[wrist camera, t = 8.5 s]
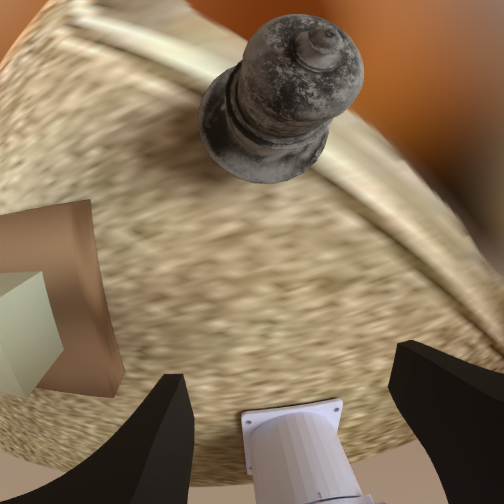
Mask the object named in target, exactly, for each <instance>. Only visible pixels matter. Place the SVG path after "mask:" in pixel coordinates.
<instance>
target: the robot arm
mask: <svg viewBox="0 0 504 504" xmlns="http://www.w3.org/2000/svg"><path fill="white" fill-rule="evenodd" d="M388 389H389V391H390V393H391V396H392V398H393V400H394V402H395V404H396V406H397V408H398V410H399V411H400V413H401V414H402V416H403V417H404V419H405V420H406V422H407V423H408V425H409V426H410V428H411V429H412V431H413V432H414V434H415V435H416V437H417V438H418V440H419V441H420V443H421V444H422V446H423V447H424V448H425V450H426V452H427V454H428V455H429V457H430V459H431V461H432V463H433V465H434V467H435V469H436V472H437V474H438V476H439V478H440V481H441V483H442V486H443V489H444V491H445V494H446V497H447V500H448V503H449V504H504V374H502V373H498V372H495V371H491V370H488V369H485V368H482V367H479V366H476V365H473V364H471V363H468V362H466V361H463V360H461V359H458V358H456V357H453V356H451V355H449V354H446V353H444V352H441V351H439V350H437V349H434V348H432V347H430V346H427V345H425V344H422V343H420V342H417V341H414V340H408V341H405V342H401V343H397V348H396V353H395V358H394V363H393V367H392V372H391V376H390V380H389V384H388ZM342 406H343V402H342V400H341V399H339V398H338V399H332V400H327V401H321V402H316V403H310V404H303V405H297V406H290V407H283V408H274V409H266V410H256V411H246V412H243V413H242V414H241V423H242V432H243V441H244V450H245V459H246V467H247V474H248V475H253V482H254V490H255V498H256V504H374V502H373V499H372V497H371V495H370V494H367V495H364V496H363V494H362V492H361V490H360V487H359V485H358V483H357V480H356V478H355V476H354V473H353V471H352V469H351V466H350V464H349V462H348V459H347V457H346V455H345V452H344V450H343V448H342V445H341V443H340V441H339V438H338V436H337V429H338V425H339V420H340V415H341V411H342ZM335 408H336V409H335ZM193 450H194V414H193V411H192V407H191V403H190V399H189V396H188V392H187V388H186V384H185V380H184V376H183V374H164V375H163V376H162V377H161V379H160V380H159V381H158V383H157V384H156V385H155V386H154V388H153V389H152V390H151V392H150V393H149V394H148V396H147V397H146V398H145V399H144V401H143V402H142V403H141V404H140V406H139V407H138V408H137V409H136V410H135V412H134V413H133V414H132V415H131V416H130V418H129V419H128V420H127V421H126V422H125V423H124V424H123V425H122V426H121V427H120V428H119V430H118V431H117V432H116V433H115V434H114V435H113V436H112V437H111V438H110V439H109V440H108V441H107V442H106V443H105V444H104V445H102V446H101V447H100V448H99V449H98V450H97V451H96V452H94V453H93V454H92V455H91V456H90V457H88V458H87V459H86V460H84V461H83V462H82V463H80V464H79V465H77V466H76V467H74V468H73V469H71V470H70V471H68V472H67V473H65V474H64V475H62V476H61V477H59V478H57V479H55V480H53V481H52V482H50V483H48V484H46V485H44V486H42V487H40V488H38V489H36V490H33V491H31V492H29V493H26V494H24V495H21V496H17V497H15V498H12V499H9V500H5V501H2V502H0V504H187V499H188V490H189V482H190V474H191V466H192V458H193ZM375 504H387V503H386V502H383V501H382V502H378V503H375Z"/></svg>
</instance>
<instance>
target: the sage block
mask: <svg viewBox="0 0 504 504" xmlns="http://www.w3.org/2000/svg"><path fill="white" fill-rule="evenodd" d="M63 350H64V348H63V345H62V342H61V339H60V336H59V333H58V330H57V327H56V324H55V320H54V317H53V314H52V310H51V306H50V303H49V299H48V295H47V291H46V287H45V283H44V278H43V274H42V271H34V272H15V273H0V392H2V393H5V394H9V395H12V396H16V397H20V398H23V399H27V398H28V397H29V395H30V394H31V392H32V391H33V390H34V388H35V387H36V386H37V384H38V383H39V382H40V380H41V379H42V378H43V376H44V375H45V374H46V372H47V371H48V370H49V368H50V367H51V366H52V364H53V363H54V362H55V361H56V359H57V358H58V357H59V355H60V354H61V353H62V352H63Z"/></svg>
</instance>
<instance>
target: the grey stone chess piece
mask: <svg viewBox="0 0 504 504" xmlns="http://www.w3.org/2000/svg"><path fill="white" fill-rule="evenodd" d="M363 80H364V66H363V62H362V59H361V56H360V52H359V51H358V49H357V47H356V46H355V44H354V43H353V41H352V39H351V38H350V37H349V36H348V35H347V34H346V33H345V32H344V31H343V30H342V29H341V28H339V27H337V26H336V25H335V24H333V23H332V22H329V21H327V20H325V19H322V18H319V17H316V16H311V15H304V14H291V15H284V16H281V17H277V18H274V19H272V20H270V21H269V22H267V23H266V24H264V25H263V26H261V27H260V28H259V29H258V30H257V32H256V33H255V34H254V35H253V36H252V38H251V39H250V40H249V41H248V44H247V46H246V49H245V51H244V54H243V59H242V60H241V61H240V62H239V63H238V64H237V65H236V66H234V67H232V68H230V69H227V70H226V71H225V72H223V73H222V74H221V75H220V76H218V77H217V78H216V79H215V80H214V81H213V82H212V83H211V85H210V86H209V88H208V89H207V90H206V92H205V93H204V96H203V99H202V102H201V104H200V107H199V117H198V127H199V131H200V136H201V140H202V143H203V144H204V146H205V148H206V150H207V152H208V153H209V155H210V157H211V158H212V159H213V160H214V161H215V162H216V163H217V164H218V165H219V166H220V167H221V168H222V169H223V170H225V171H226V172H228V173H230V174H231V175H233V176H235V177H236V178H239V179H242V180H245V181H249V182H252V183H263V184H274V183H278V182H283V181H288V180H290V179H292V178H294V177H296V176H298V175H300V174H302V173H304V172H305V171H306V170H307V169H308V168H309V167H310V166H312V165H313V164H314V163H315V162H316V161H317V159H318V157H319V156H320V154H321V153H322V151H323V149H324V147H325V144H326V141H327V137H328V134H329V125H330V123H331V122H332V120H333V118H334V117H336V116H338V115H340V114H341V113H343V112H344V111H345V110H346V109H347V108H349V107H350V106H351V105H352V103H353V102H354V100H355V98H356V97H357V95H358V94H359V92H360V91H361V87H362V84H363Z"/></svg>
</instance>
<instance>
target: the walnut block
mask: <svg viewBox="0 0 504 504" xmlns="http://www.w3.org/2000/svg"><path fill="white" fill-rule="evenodd" d="M34 271H42V274H43V278H44V283H45V287H46V291H47V295H48V299H49V303H50V306H51V310H52V314H53V317H54V320H55V324H56V327H57V330H58V333H59V336H60V339H61V342H62V345H63V348H64V350H63V352H62V353H61V354H60V355H59V357H58V358H57V359H56V361H55V362H54V363H53V364H52V366H51V367H50V368H49V370H48V371H47V372H46V374H45V375H44V376H43V378H42V379H41V380H40V382H39V383H38V384H37V386H36V387H38V388H43V389H48V390H54V391H60V392H66V393H73V394H81V395H89V396H97V397H108V398H114V396H115V394H116V391H117V389H118V387H119V384H120V382H121V380H122V378H123V375H124V373H125V370H124V366H123V363H122V360H121V357H120V353H119V350H118V346H117V343H116V339H115V336H114V332H113V328H112V324H111V320H110V316H109V312H108V308H107V303H106V299H105V294H104V289H103V284H102V279H101V274H100V268H99V263H98V257H97V250H96V244H95V237H94V229H93V221H92V212H91V202H90V200H83V201H76V202H70V203H64V204H58V205H52V206H46V207H41V208H35V209H30V210H25V211H20V212H15V213H10V214H5V215H1V216H0V273H15V272H34Z"/></svg>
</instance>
